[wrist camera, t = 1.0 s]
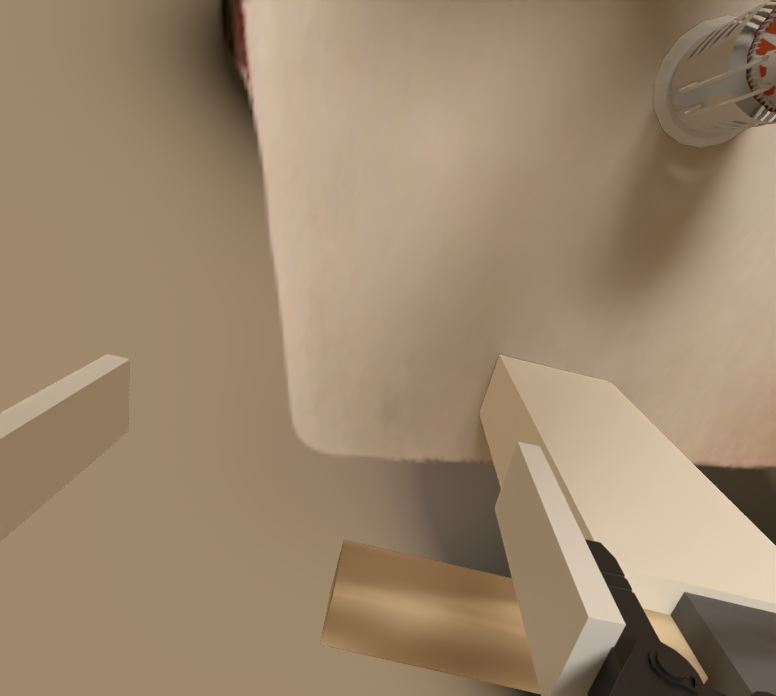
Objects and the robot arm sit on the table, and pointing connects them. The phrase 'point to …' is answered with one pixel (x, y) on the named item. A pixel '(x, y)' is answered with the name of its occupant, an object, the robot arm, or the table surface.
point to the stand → (629, 488)
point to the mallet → (515, 624)
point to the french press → (719, 79)
